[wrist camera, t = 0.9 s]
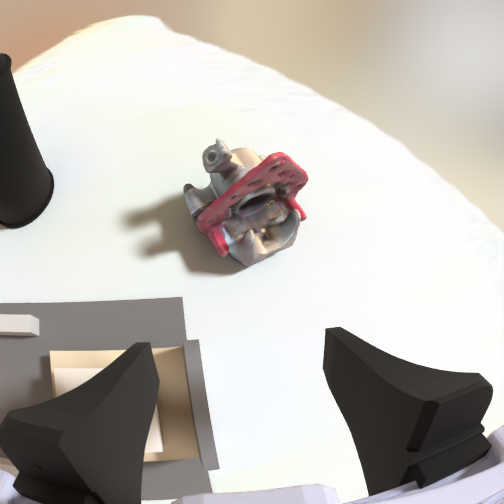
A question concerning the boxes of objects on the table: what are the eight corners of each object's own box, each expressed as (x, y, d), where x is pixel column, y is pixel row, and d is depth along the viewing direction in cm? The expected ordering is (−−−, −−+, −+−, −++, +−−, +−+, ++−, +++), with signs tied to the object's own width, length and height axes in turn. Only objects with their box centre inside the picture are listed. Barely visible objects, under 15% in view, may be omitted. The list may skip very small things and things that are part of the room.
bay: (212, 493, 20) (218, 509, 17) (-61, 460, 11) (-80, 464, 8) (182, 297, 26) (183, 285, 23) (-74, 302, 18) (-94, 292, 15)
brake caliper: (234, 305, 25) (204, 161, 18) (182, 248, 33) (154, 140, 26) (334, 249, 29) (334, 125, 23) (268, 211, 37) (256, 113, 31)
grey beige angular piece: (209, 449, 22) (219, 469, 16) (72, 453, 18) (47, 470, 13) (193, 347, 25) (198, 339, 19) (59, 353, 21) (30, 344, 16)
